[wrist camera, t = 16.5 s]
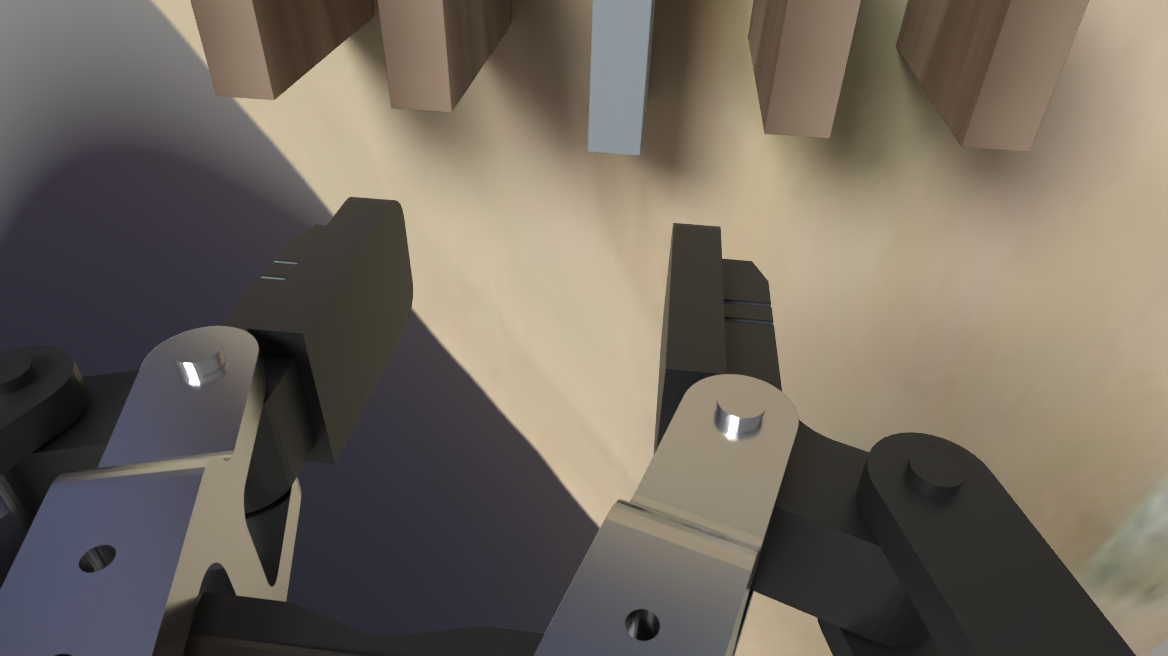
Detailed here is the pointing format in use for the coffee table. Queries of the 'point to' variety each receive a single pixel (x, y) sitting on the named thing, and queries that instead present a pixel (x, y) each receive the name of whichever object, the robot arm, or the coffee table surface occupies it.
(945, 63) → the domino
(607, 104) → the grey domino
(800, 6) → the domino
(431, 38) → the domino
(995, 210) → the coffee table surface
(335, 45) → the domino
